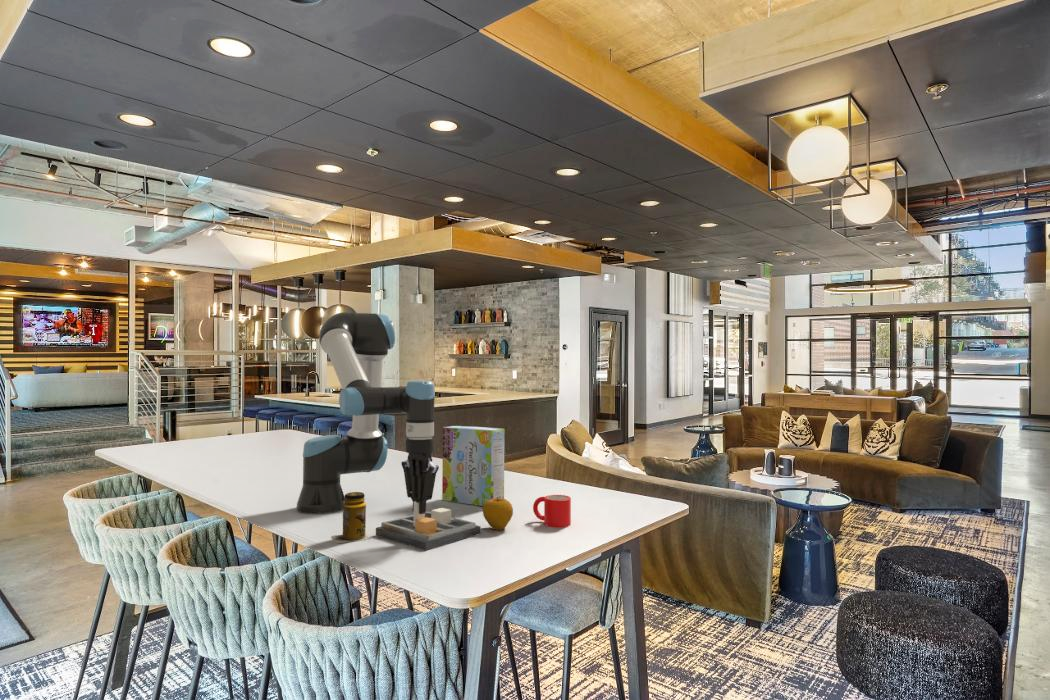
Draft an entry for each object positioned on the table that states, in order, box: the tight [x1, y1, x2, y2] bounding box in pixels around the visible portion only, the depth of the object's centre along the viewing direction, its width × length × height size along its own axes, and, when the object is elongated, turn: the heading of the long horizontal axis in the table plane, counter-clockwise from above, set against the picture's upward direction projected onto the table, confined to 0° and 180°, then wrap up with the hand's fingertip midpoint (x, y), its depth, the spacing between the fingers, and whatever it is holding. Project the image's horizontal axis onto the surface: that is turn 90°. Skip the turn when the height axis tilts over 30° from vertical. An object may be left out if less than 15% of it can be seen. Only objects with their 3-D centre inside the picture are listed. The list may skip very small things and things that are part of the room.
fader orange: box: [415, 517, 437, 535], centre depth 160 cm, size 4×4×4 cm
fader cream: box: [430, 507, 452, 524], centre depth 171 cm, size 4×4×4 cm
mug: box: [532, 494, 572, 529], centre depth 180 cm, size 8×12×8 cm, turn 65°
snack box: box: [441, 425, 506, 507], centre depth 207 cm, size 22×9×26 cm, turn 58°
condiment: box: [331, 491, 370, 544], centre depth 164 cm, size 7×8×12 cm
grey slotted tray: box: [375, 511, 482, 551], centre depth 167 cm, size 21×20×3 cm
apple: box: [482, 498, 514, 531], centre depth 173 cm, size 9×9×9 cm
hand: (419, 525), depth 162 cm, fingers closed
